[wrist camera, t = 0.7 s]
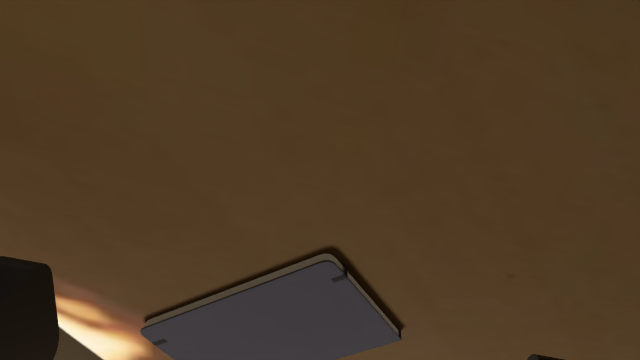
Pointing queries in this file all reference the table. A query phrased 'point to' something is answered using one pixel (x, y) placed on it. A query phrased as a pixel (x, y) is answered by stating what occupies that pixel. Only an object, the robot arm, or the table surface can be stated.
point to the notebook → (278, 318)
